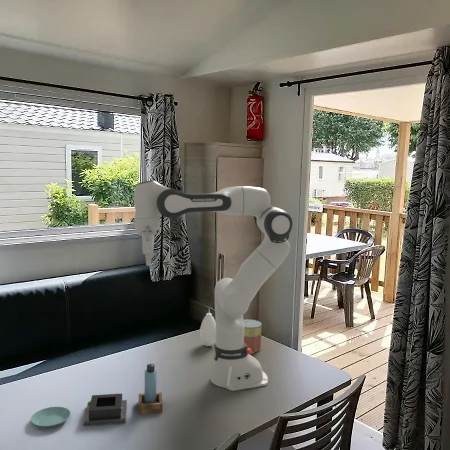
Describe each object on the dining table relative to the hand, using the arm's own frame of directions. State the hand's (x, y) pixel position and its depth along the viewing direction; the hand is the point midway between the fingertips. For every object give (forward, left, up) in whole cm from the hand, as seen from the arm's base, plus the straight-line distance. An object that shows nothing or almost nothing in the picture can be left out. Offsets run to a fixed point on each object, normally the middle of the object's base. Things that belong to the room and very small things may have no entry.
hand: (149, 263), depth 168 cm
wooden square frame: (-1, +17, -47) cm, 50 cm away
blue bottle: (-1, +17, -47) cm, 50 cm away
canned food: (-46, -30, -47) cm, 73 cm away
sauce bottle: (-28, -35, -47) cm, 65 cm away
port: (+14, +20, -47) cm, 53 cm away
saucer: (+31, +22, -47) cm, 61 cm away
